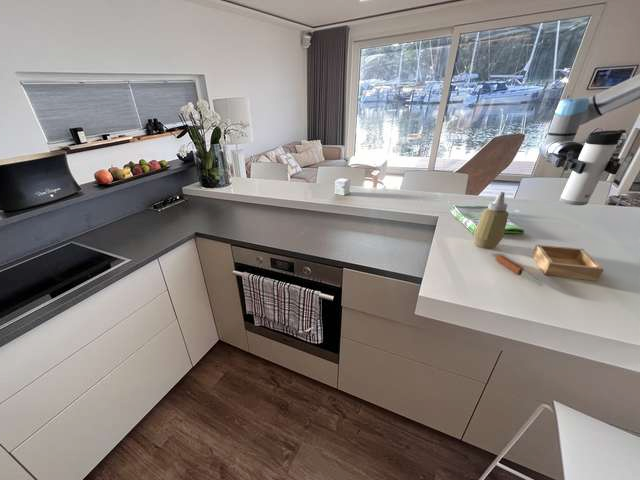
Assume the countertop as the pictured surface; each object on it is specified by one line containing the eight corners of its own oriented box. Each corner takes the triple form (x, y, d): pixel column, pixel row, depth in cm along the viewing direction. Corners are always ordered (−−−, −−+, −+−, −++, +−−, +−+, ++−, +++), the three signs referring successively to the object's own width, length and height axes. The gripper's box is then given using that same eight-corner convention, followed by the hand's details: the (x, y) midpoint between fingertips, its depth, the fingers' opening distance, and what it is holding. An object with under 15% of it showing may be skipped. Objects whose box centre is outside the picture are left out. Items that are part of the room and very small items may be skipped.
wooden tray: (531, 254, 89) (535, 244, 87) (577, 259, 85) (583, 248, 83) (544, 274, 79) (549, 263, 77) (597, 281, 75) (603, 269, 73)
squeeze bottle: (494, 240, 98) (512, 188, 89) (503, 251, 92) (523, 196, 82) (468, 239, 100) (482, 188, 91) (474, 249, 94) (491, 196, 85)
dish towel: (491, 211, 120) (494, 203, 119) (525, 234, 101) (529, 224, 99) (448, 212, 123) (450, 204, 121) (472, 234, 103) (475, 225, 101)
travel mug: (591, 206, 83) (630, 131, 73) (561, 204, 86) (594, 131, 76) (585, 200, 87) (622, 128, 77) (557, 198, 90) (588, 128, 80)
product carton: (334, 194, 157) (334, 180, 153) (340, 191, 161) (340, 177, 157) (344, 195, 153) (345, 181, 150) (349, 192, 157) (350, 179, 154)
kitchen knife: (494, 260, 87) (496, 254, 86) (498, 259, 87) (500, 254, 86) (538, 289, 74) (541, 283, 73) (543, 289, 74) (546, 282, 73)
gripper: (599, 165, 93) (640, 184, 75) (526, 164, 101) (548, 181, 83) (610, 140, 90) (657, 154, 72) (534, 141, 97) (559, 154, 79)
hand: (599, 168), depth 77 cm, fingers closed on travel mug, 6 cm apart
